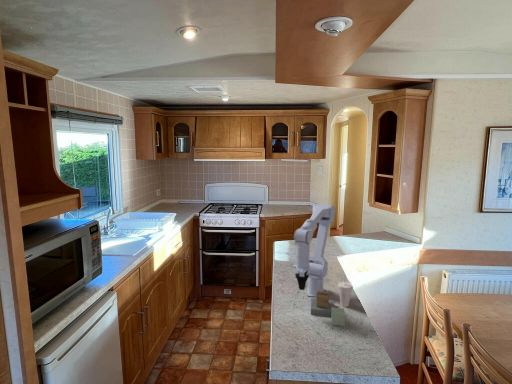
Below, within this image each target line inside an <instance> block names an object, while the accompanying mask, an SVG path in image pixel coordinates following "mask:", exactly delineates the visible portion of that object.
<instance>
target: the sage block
mask: <svg viewBox="0 0 512 384" xmlns="http://www.w3.org/2000/svg"><path fill="white" fill-rule="evenodd" d="M345 311H346V310H345V307H335V306H334V307H332V311H331V316H330V317H331V318H330V319H331V325H332V326H338V325H339V326H340V327H345V326H346V313H345Z"/></svg>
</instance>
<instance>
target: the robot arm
mask: <svg viewBox="0 0 512 384" xmlns="http://www.w3.org/2000/svg"><path fill="white" fill-rule="evenodd" d="M335 215H336V208H335V205H333V204H320V203H315V204H313V206H312V214H311V217H310V218H308V219H306V220H305V221H304V223H303V224H302V225H301V227H299V228H297V229H296V230H295V231H294V234H293V239H294V245H295V246H296V249H295V252H296V253H295V255H296V256H295V264H293V266H292V267H293V268H295V269H296V270H297V272H298V273H297V272H296V273H295V275H294V276H295V278H296V280H297V284H298V289H299V290H300V291H305V289H306V284H307V283H308V284H307V289H306V290H307V293H306V296H307V297H311V298H317V291H325V290H324V279H325V277H326V276H327V275H328V267H329V263H328V261H327V259H326V258H325V257H324V254H325V250H326V245H327V239H328V233H329V228H330V225H331V224H333V223H334V220H335ZM317 228H318V230H317V234H316V240H315V245H314V248H313V254H312V255H310V250H311V249H310V248H311V247H310V246H311V244H310V243H311V242H312V240H313V236H314V233H315V231H316V229H317ZM307 280H308V281H307Z"/></svg>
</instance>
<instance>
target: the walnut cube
mask: <svg viewBox="0 0 512 384" xmlns="http://www.w3.org/2000/svg"><path fill="white" fill-rule="evenodd" d="M329 293H330V292H329V291H325V290H324V291H317V297H316V298H317V307H323V308H328V304H329V300H330V299H329V296H330V295H329Z"/></svg>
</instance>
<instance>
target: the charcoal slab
mask: <svg viewBox="0 0 512 384" xmlns="http://www.w3.org/2000/svg"><path fill="white" fill-rule="evenodd" d="M310 299H311V301H310V315H312V316H313V315H314V316H322V315H323V317H331V311H332V307H334V308H335V301H334V299H329V304H328V308H323V307H317V297H311V298H310Z"/></svg>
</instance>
